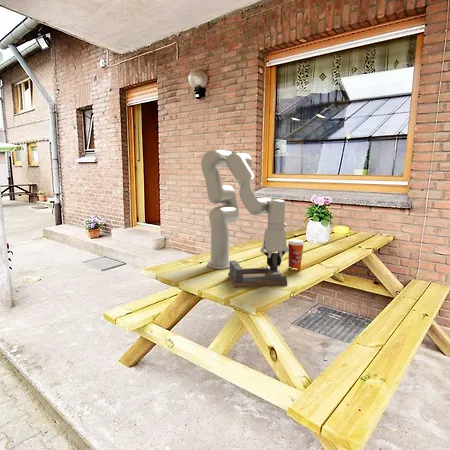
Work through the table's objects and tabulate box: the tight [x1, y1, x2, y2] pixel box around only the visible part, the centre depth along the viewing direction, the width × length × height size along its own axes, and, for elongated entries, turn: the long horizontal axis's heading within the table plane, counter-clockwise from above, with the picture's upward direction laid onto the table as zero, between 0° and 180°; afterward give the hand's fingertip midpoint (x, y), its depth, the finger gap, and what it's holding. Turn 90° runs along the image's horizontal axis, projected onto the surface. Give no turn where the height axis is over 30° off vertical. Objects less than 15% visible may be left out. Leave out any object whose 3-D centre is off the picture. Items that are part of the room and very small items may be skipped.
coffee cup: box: [287, 238, 305, 271], centre depth 173 cm, size 8×8×15 cm
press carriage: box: [265, 251, 282, 276], centre depth 155 cm, size 10×4×10 cm, turn 11°
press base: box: [227, 260, 288, 289], centre depth 154 cm, size 15×24×8 cm, turn 101°
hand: (273, 265), depth 155 cm, fingers closed on press carriage, 3 cm apart
